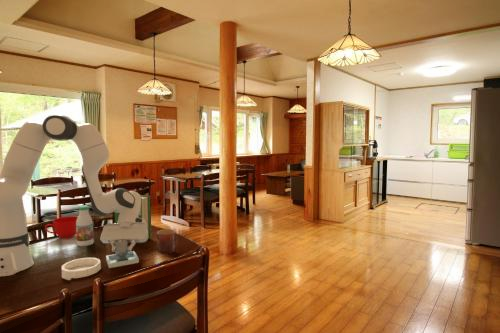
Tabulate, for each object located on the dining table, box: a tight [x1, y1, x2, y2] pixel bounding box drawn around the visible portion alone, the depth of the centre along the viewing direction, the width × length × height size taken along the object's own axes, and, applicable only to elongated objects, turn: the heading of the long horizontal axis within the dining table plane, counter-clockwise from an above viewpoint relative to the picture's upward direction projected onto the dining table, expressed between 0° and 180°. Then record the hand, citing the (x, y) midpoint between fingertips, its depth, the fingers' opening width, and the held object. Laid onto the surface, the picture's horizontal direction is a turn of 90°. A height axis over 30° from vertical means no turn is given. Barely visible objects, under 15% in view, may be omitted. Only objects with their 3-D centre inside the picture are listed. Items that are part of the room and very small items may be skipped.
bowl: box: [61, 257, 102, 281], centre depth 129 cm, size 14×14×4 cm
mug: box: [156, 228, 176, 255], centre depth 153 cm, size 12×9×10 cm
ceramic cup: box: [44, 216, 78, 240], centre depth 174 cm, size 13×17×10 cm
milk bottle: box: [75, 205, 95, 247], centre depth 163 cm, size 8×8×20 cm
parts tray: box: [105, 250, 140, 269], centre depth 139 cm, size 12×11×2 cm
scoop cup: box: [114, 240, 129, 262], centre depth 139 cm, size 5×5×10 cm
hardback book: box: [114, 194, 152, 244], centre depth 171 cm, size 18×7×24 cm, turn 69°
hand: (121, 250), depth 138 cm, fingers closed on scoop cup, 5 cm apart
